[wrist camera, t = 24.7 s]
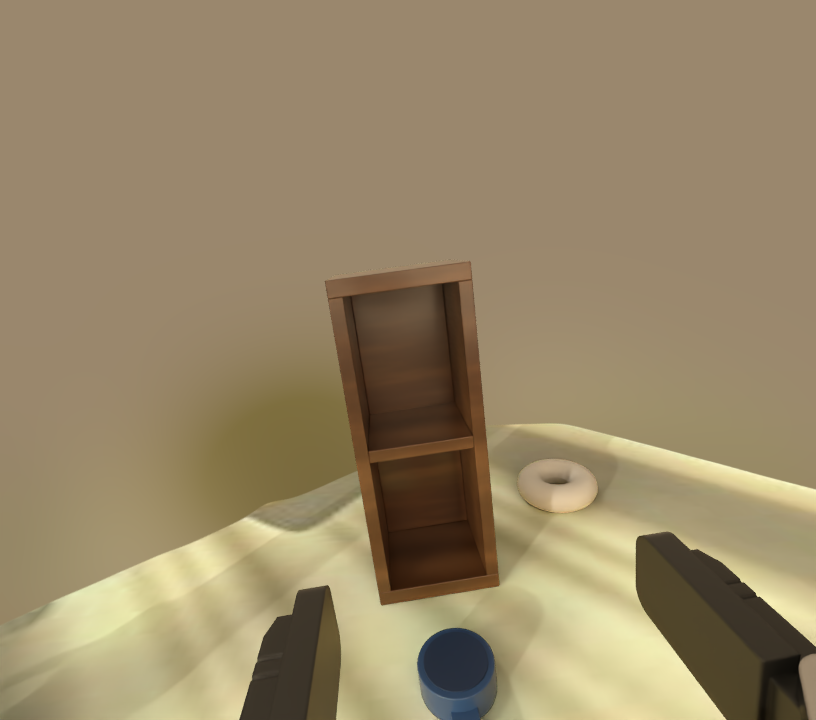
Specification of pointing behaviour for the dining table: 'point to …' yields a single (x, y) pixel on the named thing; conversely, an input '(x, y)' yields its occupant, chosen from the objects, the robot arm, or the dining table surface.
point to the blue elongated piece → (457, 675)
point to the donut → (563, 498)
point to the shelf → (417, 425)
